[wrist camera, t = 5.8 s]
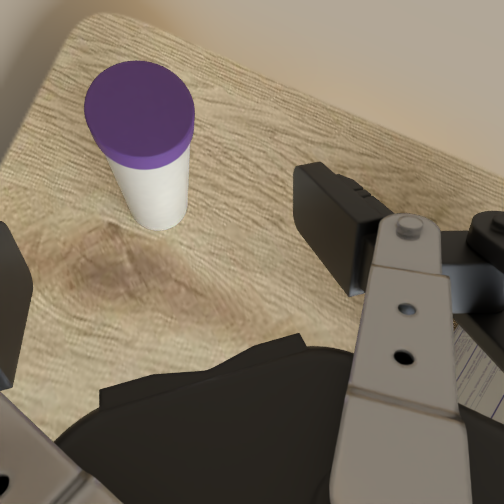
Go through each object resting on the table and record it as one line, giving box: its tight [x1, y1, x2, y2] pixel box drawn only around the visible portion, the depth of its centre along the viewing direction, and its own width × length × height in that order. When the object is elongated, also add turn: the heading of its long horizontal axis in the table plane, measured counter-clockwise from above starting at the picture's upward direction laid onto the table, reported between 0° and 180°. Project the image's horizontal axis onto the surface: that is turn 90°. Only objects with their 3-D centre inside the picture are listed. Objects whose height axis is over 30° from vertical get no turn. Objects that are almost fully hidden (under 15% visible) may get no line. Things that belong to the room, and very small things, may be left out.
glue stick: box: [84, 61, 195, 231], centre depth 17 cm, size 3×3×10 cm
